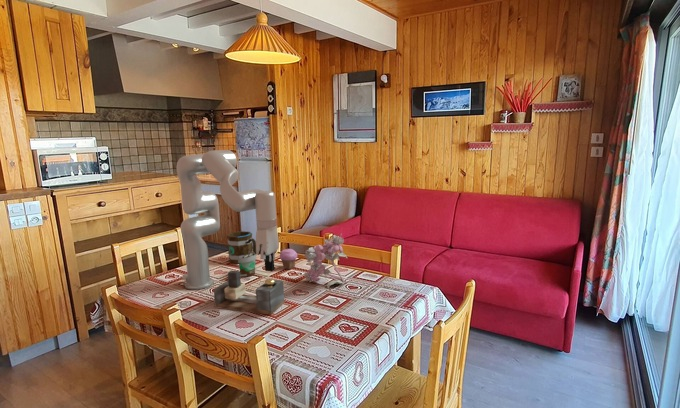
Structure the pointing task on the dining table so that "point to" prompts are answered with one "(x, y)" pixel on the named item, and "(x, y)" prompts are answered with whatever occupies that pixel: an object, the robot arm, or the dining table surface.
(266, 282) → the button
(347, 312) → the dining table surface
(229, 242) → the mug
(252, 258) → the food container
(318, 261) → the flower
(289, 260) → the cupcake
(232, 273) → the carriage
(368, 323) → the dining table surface
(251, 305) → the rail base
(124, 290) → the dining table surface
